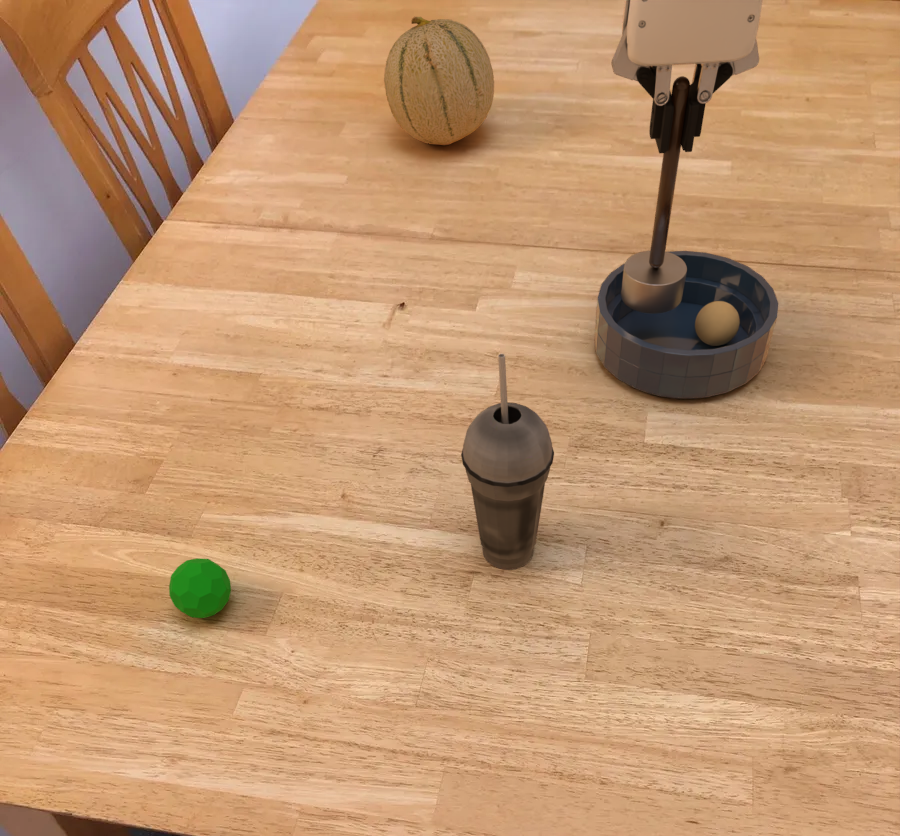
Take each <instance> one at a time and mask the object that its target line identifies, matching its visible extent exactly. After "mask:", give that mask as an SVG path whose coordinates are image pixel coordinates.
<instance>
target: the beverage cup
mask: <svg viewBox="0 0 900 836" xmlns="http://www.w3.org/2000/svg"><path fill="white" fill-rule="evenodd" d="M497 358H498V359H497V360H498V376H499V378H498V379H499V394H500V395H499V396H500V398H499V399H500V403H496V404H493V405H490V406H488V407H485V409H483V410H482V411H480V412H479V413H478V414H477V415H476V416H475V417H474V419H473V420H472V421H471V422H470V424H469V425H468V427H467V430H466V433H465V435H464V436H465V437H464V440H463V444H462V450H461V453H460V457H461V462H462V466H463V467H464V469H465V473H466V476H467V479H468V482H469V483H470V488H471V493H472V500H473V506H474V511H475V517H476V524H477V529H478V536H479V541H480V546H481V547H482V555H483V558H484V559H485V560H486V562H487V563H488V564H490V565H491V566H492V567H494V568H497V569H500V570H507V571H508V570H509V571H510V570H517V569H519V568H521V567H524V566H526V565H527V564H528V563H529V562H530V561H531V559H532V558H533V557H534V553H535V552H534V551H535V547H536V543H537V538H538V531H539V526H540V525H539V524H540V519H541V513H542V505H543V499H544V493H545V486H546V483H547V480H548V478H549V475H550V470H551V467H552V465H553V464H554V457H555V451H554V447H553V442H552V439H551V435H550V432H549V428H548V427H547V424H546V423H545V422H544V421H543V419H542V418H541V417H540V415H539V414H538V413H537V412H536V411H534V410H533V409H531V408H529V407H528V406H526V405H523V404H520V403H517V402H508V388H507V387H508V385H507V367H506V354H505V353H499V354H498V355H497Z"/></svg>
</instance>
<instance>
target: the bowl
mask: <svg viewBox="0 0 900 836" xmlns="http://www.w3.org/2000/svg"><path fill="white" fill-rule="evenodd" d="M667 252H669V253H672V254H674V255H676V256H678V257H680V258H681V259H682V260H683V261H684V262H685V264H686V267H687V273H686V278H685V284H684V290H683V296H682V300H681V302H680V304H679V305H678V306H677V307H676V308H674V309H672V310H670V311H667V312H664V313H656V314H650V313H643V312H639V311H636V310H634V309H632V308H630V307H628V306H627V305H626V304H625V303H624V302H623V300H622V297H621V290H622V281H623V272H624V264H625V262H623V263H622V264H621V265H620V266H618V267H616V268H615V269H613V270H612V271H611V272H610V273H609V274H608V275H607V277H606V278H605V279H604V281H603V282H602V283H601V284H600V287H599V291H598V294H597V299H596V312H595V325H594V336H593V341H594V349H595V354H596V356H597V358H598V359H599V361H600V362H601V364H602V366H603V367H604V368H605V369H606V370H607V371H608V372H609V373H610V374H612V375H613V376H614V378H616V380H618V381H620V382H622V383H623V384H624V383H625V384H626V385H628V386H630V387H631V388H633V389H636V390H637V391H640V392H643V393H645V394H649V395H652V396H657V397H661V398H666V399H676V400H694V399H695V400H696V399H703V398H709V397H710V398H711V397H713V396H718V395H722V394H727V393H729V392H731V391H734V390H736V389H738V388H740V387H742V386H744V385H745V384H747V383H749V382H750V380H753V378H754V377H755V376H757V375H758V374H759V373H760V371H761V369H762V367H763V366H764V364H765V363H766V360H767V359H768V358H767V357H768V354H769V350H770V346H771V342H772V338H773V335H774V331H775V327H776V323H777V320H778V316H779V315H778V313H779V300H778V298H777V295H776V293H775V290H774V288H773V287H772V285H771V284H770V283H769V282H768V280H766V279H765V277H764V276H763V275H761V274H760V273H758V272H757V271H755V270H754V269H753V268H751V267H750V266H748V265H746V264H744V263H742V262H739V261H737V260H734V259H733V258H732V259H731V258H730V257H726V256H722V255H717V254H715V253H709V252H706V251H705V252H704V251H693V250H671V251H669V250H667ZM715 301H723V302H727V303H729V304H731V305H732V306H733V307H734V308H735V309H736V311H737V312H738V315H739V319H740V324H739V329H738V331H737V333H736V335H735V336H734V338H733V339H732V340H730V341H729V342H728V343H726V344H723V345H720V346H711V345H708V344H706V343H704V342H703V341H702V340H700V338H699V337H698V335H697V333H696V330H695V321H696V317H697V315H698V313H699V311H700V310H701V309H702V308H703V307H704V306H705V305H707V304H709V303H711V302H715Z"/></svg>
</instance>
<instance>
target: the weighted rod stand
mask: <svg viewBox="0 0 900 836" xmlns="http://www.w3.org/2000/svg"><path fill="white" fill-rule="evenodd" d="M690 85H691V82H690V80H689V78H688V77H687V76H685V75H681V76H678V77H676V78H675V79H674V81H673V83H672V88H671V95H672V97H671V100H672V102H673V105H674V113H673V120H672V127H671V134H670V142H669V149H668V151H666V153H662V163H661V169H660V177H659V183H658V191H657V198H656V206H655V214H654V221H653V228H652V234H651V235H652V236H651V243H650V250H643V251H640V252H639V251H638V252H636V253H634V254H632V255H631V256H629V257H628V258H627V259H626V261H625V262H624V263H625V264H624V263H623V264H624V272H623V281H622V290H621V297H622V300H623V302H624V303H625V304H626V305H627V306H628V307H630V308H632V309H634V310H636V311H639V312H643V313H650V314H656V313H664V312H667V311H670V310H672V309H674V308H676V307H677V306H678V305H679V304H680V302H681V300H682V296H683V290H684V284H685V278H686V273H687V267H686V264H685V262H684V261H683V260H682V259H681V258H680V257H678V256H676V255H674V254H672V253H669V252H668V251H666V250H667V249H666V248H667V241H668V237H669V236H668V235H669V229H670V223H671V217H672V210H673V209H672V208H673V202H674V196H675V189H676V181H677V175H678V170H679V162H680V156H681V149H682V146H681V142H682V136H683V129H684V122H685V116H686V109H687V102H688V96H689V89H690Z"/></svg>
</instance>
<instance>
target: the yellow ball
mask: <svg viewBox="0 0 900 836" xmlns="http://www.w3.org/2000/svg"><path fill="white" fill-rule="evenodd" d="M739 324H740V319H739V315H738V312H737V311H736V309H735V308H734V307H733V306H732V305H731V304H729V303H727V302H723V301H715V302H711V303H709V304H707V305H705V306H704V307H703V308H702V309H701V310H700V311H699V313H698V315H697V317H696V321H695V330H696V333H697V335H698V337H699V338H700V340H702V341H703V342H704V343H706V344H708V345H711V346H720V345H723V344H726V343H728V342H729V341H730V340H732V339H733V338H734V336H735V335H736V333H737V331H738V329H739Z"/></svg>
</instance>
